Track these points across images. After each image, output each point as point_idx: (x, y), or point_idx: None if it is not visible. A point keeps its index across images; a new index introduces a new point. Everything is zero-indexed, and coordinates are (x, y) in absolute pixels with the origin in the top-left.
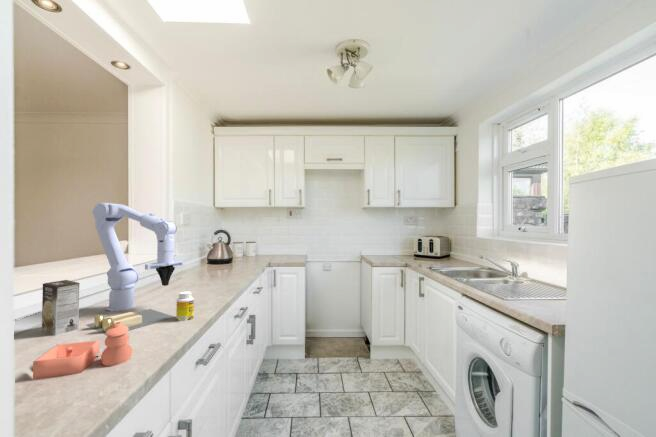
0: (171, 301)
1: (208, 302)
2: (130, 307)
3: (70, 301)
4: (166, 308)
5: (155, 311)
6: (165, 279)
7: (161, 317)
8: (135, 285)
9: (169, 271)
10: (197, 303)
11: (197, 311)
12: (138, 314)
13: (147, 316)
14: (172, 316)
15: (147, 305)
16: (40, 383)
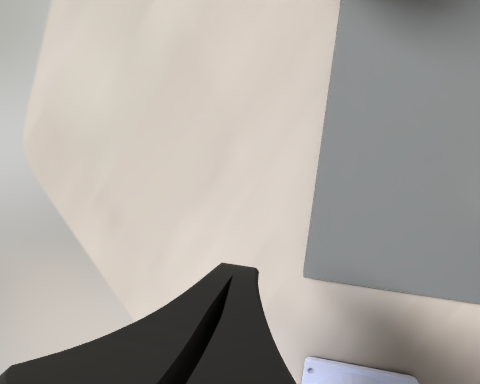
0: None
1: (33, 122)
2: (346, 379)
3: None
4: (230, 236)
5: (323, 210)
6: (250, 302)
7: (397, 54)
8: None
9: (151, 372)
10: (81, 163)
11: (168, 8)
12: (409, 245)
13: (416, 162)
14: (348, 5)
15: None
16: None
